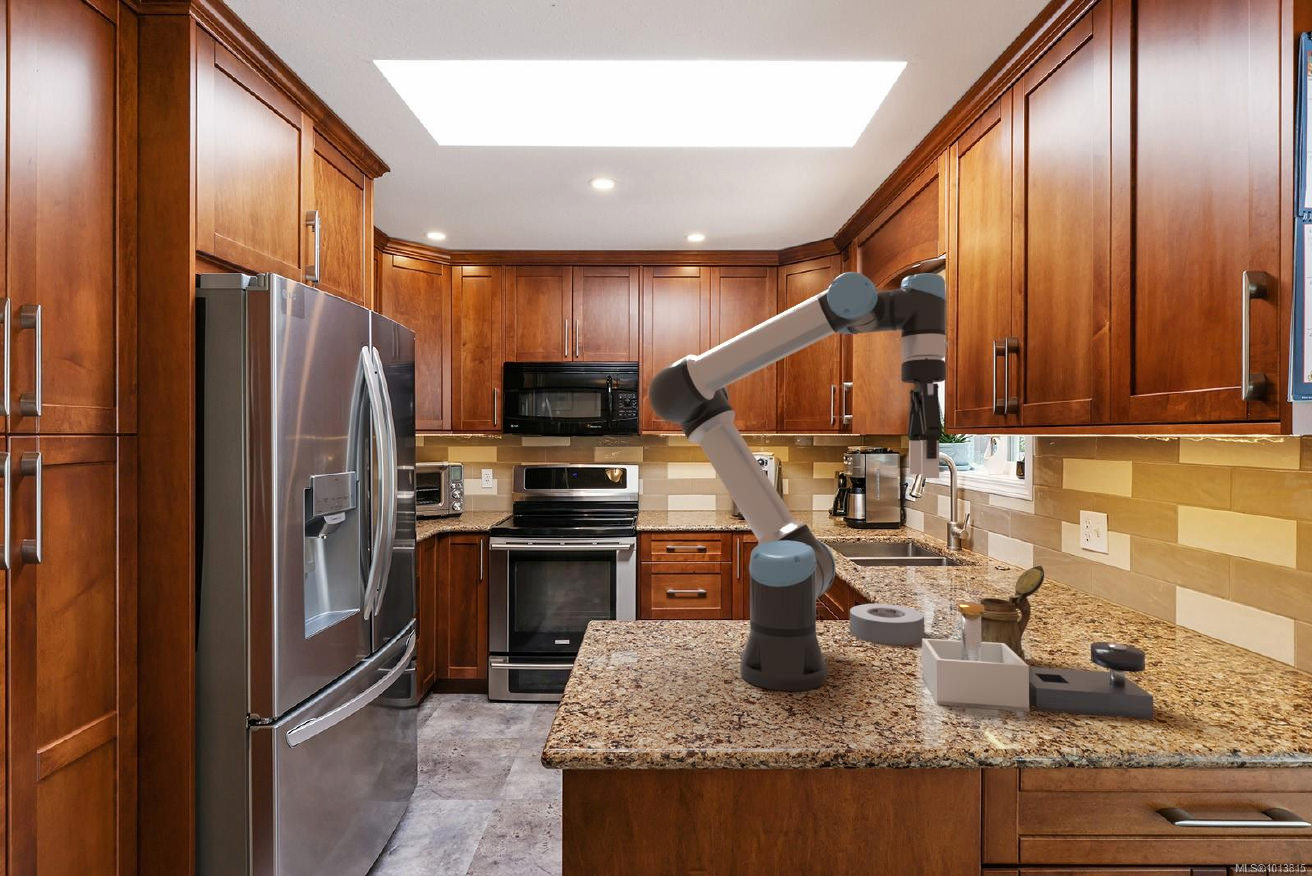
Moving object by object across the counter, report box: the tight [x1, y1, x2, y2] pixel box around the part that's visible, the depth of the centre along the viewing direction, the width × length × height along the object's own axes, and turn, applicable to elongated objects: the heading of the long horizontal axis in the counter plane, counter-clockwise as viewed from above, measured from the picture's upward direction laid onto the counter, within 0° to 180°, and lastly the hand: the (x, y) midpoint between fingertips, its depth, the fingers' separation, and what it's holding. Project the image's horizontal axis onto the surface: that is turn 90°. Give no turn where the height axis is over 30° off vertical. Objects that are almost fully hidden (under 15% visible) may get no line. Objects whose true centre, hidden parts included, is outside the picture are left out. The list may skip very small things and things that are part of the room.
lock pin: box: [957, 601, 985, 661], centre depth 105 cm, size 4×4×14 cm
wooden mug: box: [979, 565, 1045, 664], centre depth 122 cm, size 9×14×18 cm, turn 93°
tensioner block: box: [1029, 641, 1154, 720], centre depth 101 cm, size 17×10×10 cm, turn 78°
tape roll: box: [849, 603, 925, 646], centre depth 138 cm, size 15×15×5 cm
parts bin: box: [921, 638, 1030, 712], centre depth 105 cm, size 13×11×7 cm
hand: (923, 476), depth 115 cm, fingers open, 13 cm apart
